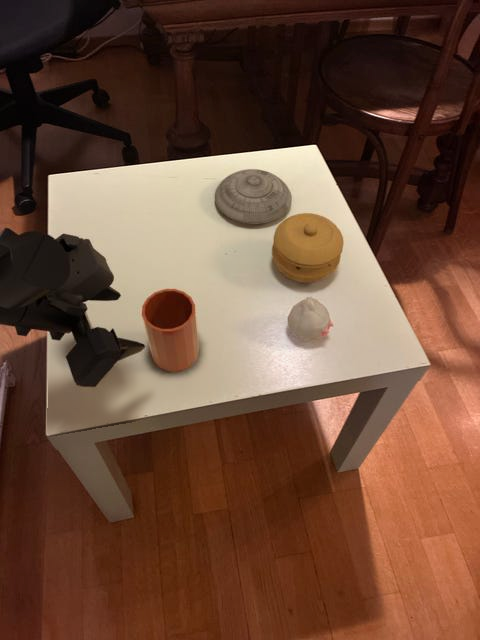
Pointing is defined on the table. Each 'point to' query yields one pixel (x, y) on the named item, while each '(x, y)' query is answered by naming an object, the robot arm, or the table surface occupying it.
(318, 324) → the figurine
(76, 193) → the table surface
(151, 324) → the tumbler
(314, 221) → the pot
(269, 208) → the flying saucer
